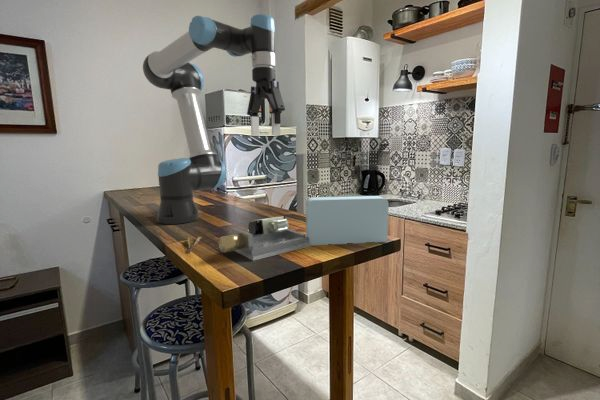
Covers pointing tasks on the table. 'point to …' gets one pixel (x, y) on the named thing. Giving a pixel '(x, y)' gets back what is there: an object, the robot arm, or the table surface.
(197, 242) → the tongs
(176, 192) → the robot arm
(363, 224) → the pale blue rectangular block
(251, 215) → the table surface
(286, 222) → the pneumatic valve
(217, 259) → the table surface
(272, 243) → the cradle
